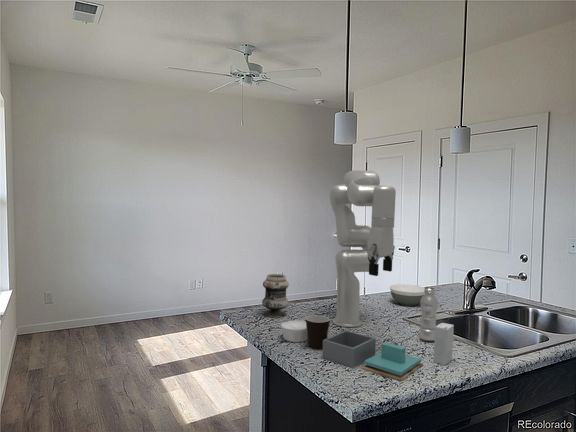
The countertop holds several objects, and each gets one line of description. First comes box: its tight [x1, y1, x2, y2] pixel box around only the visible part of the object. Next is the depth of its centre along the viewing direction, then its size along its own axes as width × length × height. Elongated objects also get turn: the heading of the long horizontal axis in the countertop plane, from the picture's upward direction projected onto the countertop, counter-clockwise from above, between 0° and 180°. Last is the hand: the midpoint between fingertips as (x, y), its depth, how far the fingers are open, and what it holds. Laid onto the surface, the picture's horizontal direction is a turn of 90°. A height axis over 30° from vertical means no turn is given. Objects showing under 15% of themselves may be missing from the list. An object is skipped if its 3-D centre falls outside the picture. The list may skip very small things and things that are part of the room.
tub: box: [321, 330, 377, 368], centre depth 139 cm, size 14×12×6 cm
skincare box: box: [433, 322, 455, 366], centre depth 137 cm, size 6×4×12 cm
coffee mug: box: [305, 315, 331, 351], centre depth 150 cm, size 12×9×10 cm
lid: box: [363, 341, 422, 376], centre depth 131 cm, size 14×12×6 cm
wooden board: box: [361, 362, 424, 382], centre depth 131 cm, size 16×13×1 cm
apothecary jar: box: [261, 273, 290, 319], centre depth 188 cm, size 12×12×18 cm
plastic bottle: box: [418, 286, 439, 342], centre depth 157 cm, size 6×7×20 cm
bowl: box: [389, 283, 425, 307], centre depth 213 cm, size 19×19×8 cm
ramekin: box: [280, 320, 308, 343], centre depth 157 cm, size 11×11×5 cm
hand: (380, 273), depth 141 cm, fingers open, 9 cm apart
